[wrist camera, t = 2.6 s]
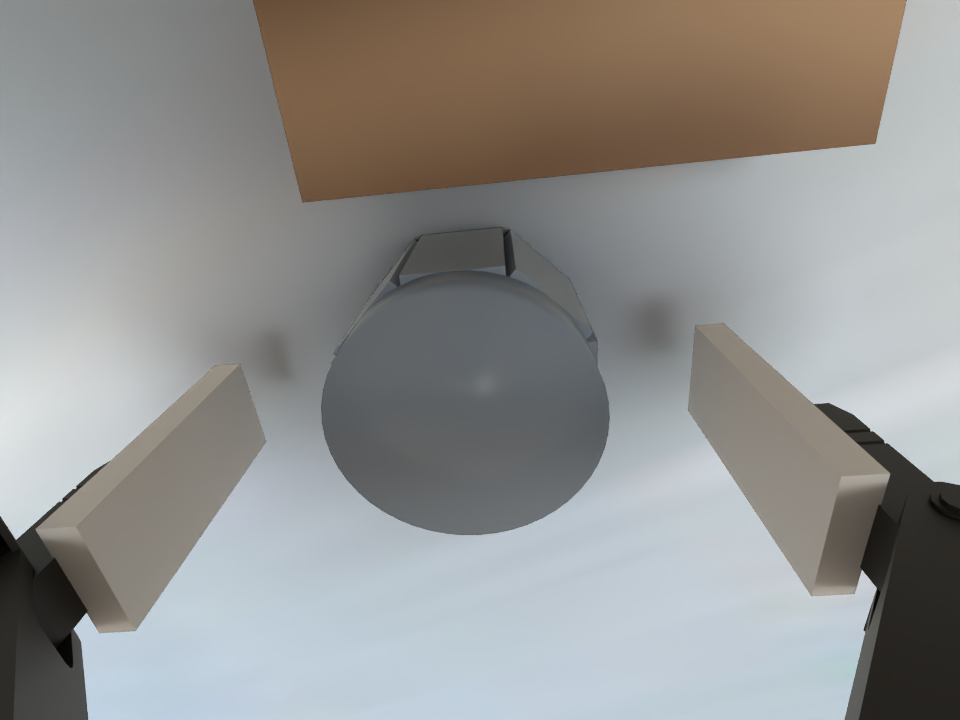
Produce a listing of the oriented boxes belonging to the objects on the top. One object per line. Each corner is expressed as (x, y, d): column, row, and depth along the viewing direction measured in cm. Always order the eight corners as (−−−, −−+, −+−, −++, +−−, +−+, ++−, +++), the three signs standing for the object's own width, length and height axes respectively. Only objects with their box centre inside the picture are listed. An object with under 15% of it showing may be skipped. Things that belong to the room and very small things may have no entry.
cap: (354, 241, 17) (288, 306, 11) (571, 220, 16) (611, 277, 11) (392, 423, 20) (354, 542, 14) (576, 409, 19) (608, 527, 14)
